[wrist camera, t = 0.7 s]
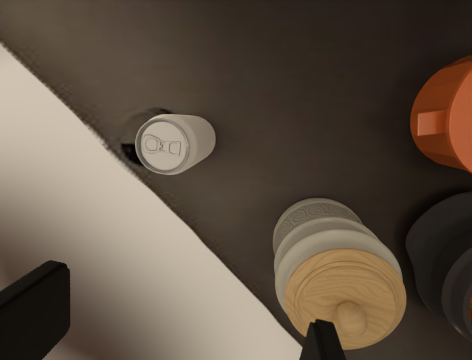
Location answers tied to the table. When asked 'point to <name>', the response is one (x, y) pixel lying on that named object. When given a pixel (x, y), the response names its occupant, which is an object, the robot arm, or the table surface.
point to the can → (174, 142)
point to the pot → (437, 113)
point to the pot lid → (461, 122)
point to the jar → (336, 273)
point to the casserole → (445, 260)
